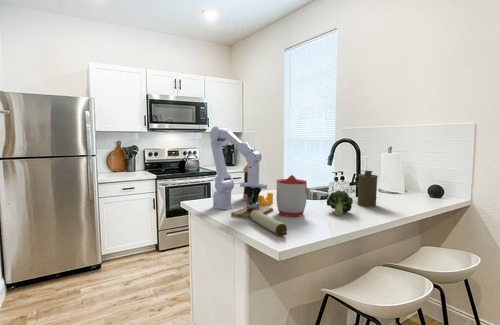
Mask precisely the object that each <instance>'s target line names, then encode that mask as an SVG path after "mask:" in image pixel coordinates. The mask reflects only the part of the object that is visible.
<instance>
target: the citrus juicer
mask: <svg viewBox="0 0 500 325" xmlns="http://www.w3.org/2000/svg"><path fill="white" fill-rule="evenodd" d="M275 181H276V197H275V198H276V205H277V210H278V213H279V214H280V215H281V216H282V217H301V216H302V215H303V214H304V212H305V209H306V204H307V197H308V196H307V194H308V193H312V191H311V189H310V188H309V187H307V180H304V179H298V178H297V177H295V175H293V174H291V175H289V176H288V177H287V178H282V179H281V178H280V179H276V180H275Z"/></svg>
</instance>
